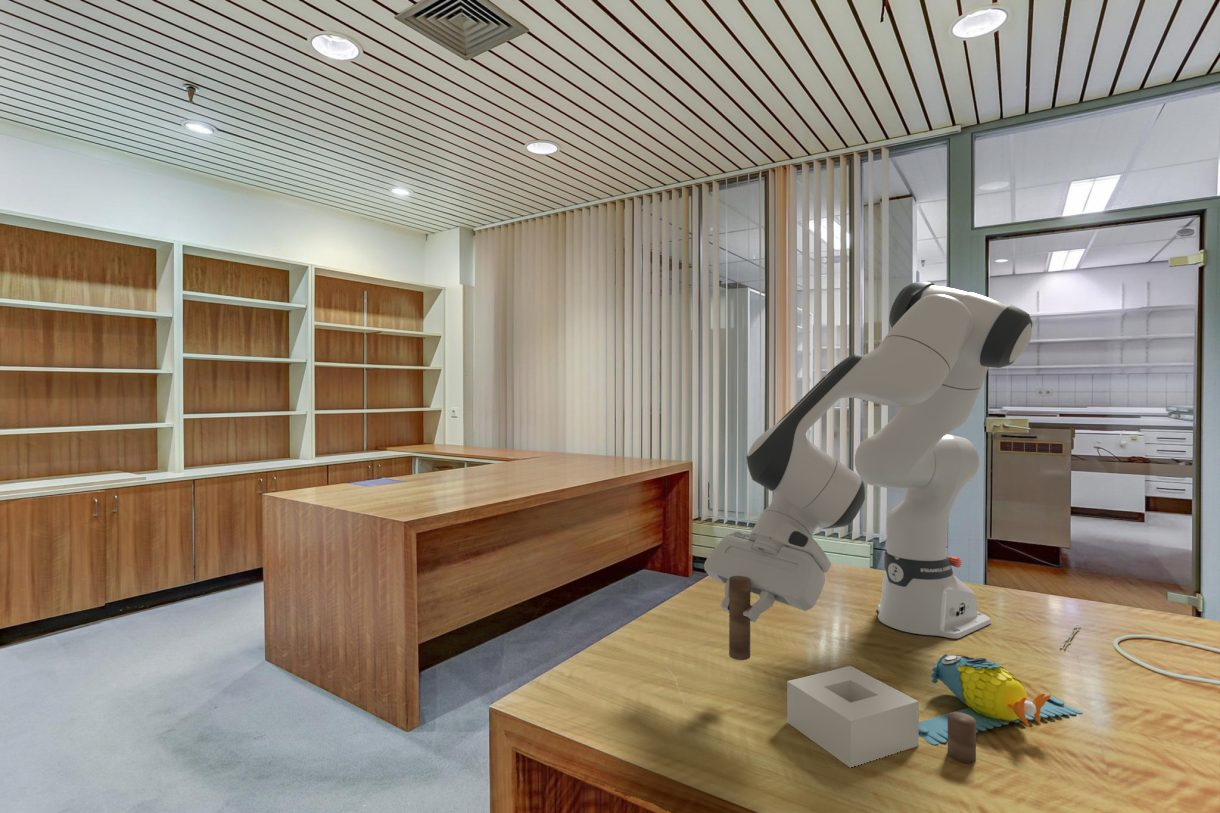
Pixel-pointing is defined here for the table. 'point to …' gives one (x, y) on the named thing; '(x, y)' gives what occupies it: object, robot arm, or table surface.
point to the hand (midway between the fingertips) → (737, 614)
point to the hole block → (853, 715)
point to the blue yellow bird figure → (987, 697)
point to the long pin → (739, 618)
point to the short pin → (962, 737)
